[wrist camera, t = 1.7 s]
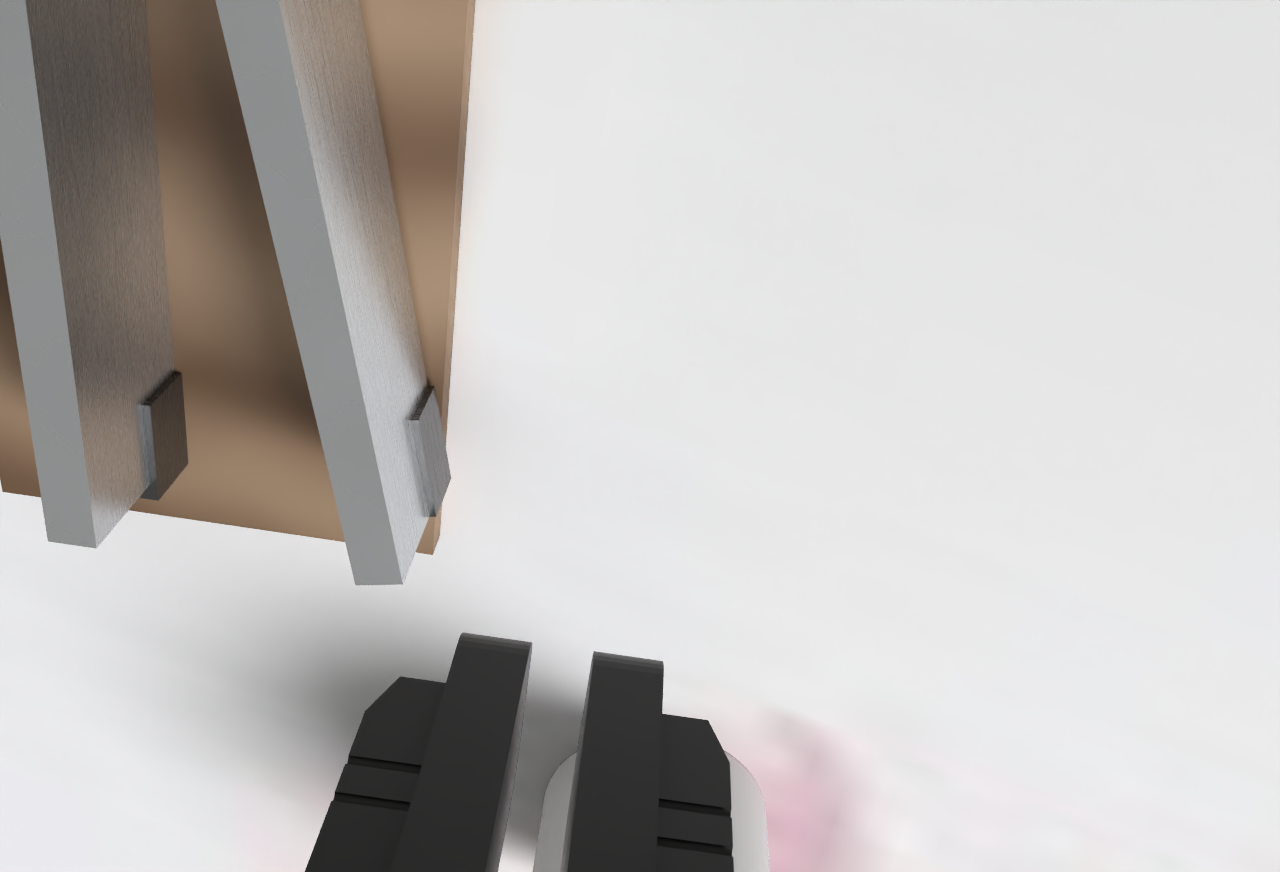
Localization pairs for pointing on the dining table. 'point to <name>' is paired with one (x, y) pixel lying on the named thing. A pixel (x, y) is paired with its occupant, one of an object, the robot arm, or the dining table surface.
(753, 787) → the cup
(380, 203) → the tongs swing arm
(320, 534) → the walnut board
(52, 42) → the arm
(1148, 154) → the dining table surface
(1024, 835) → the dining table surface
